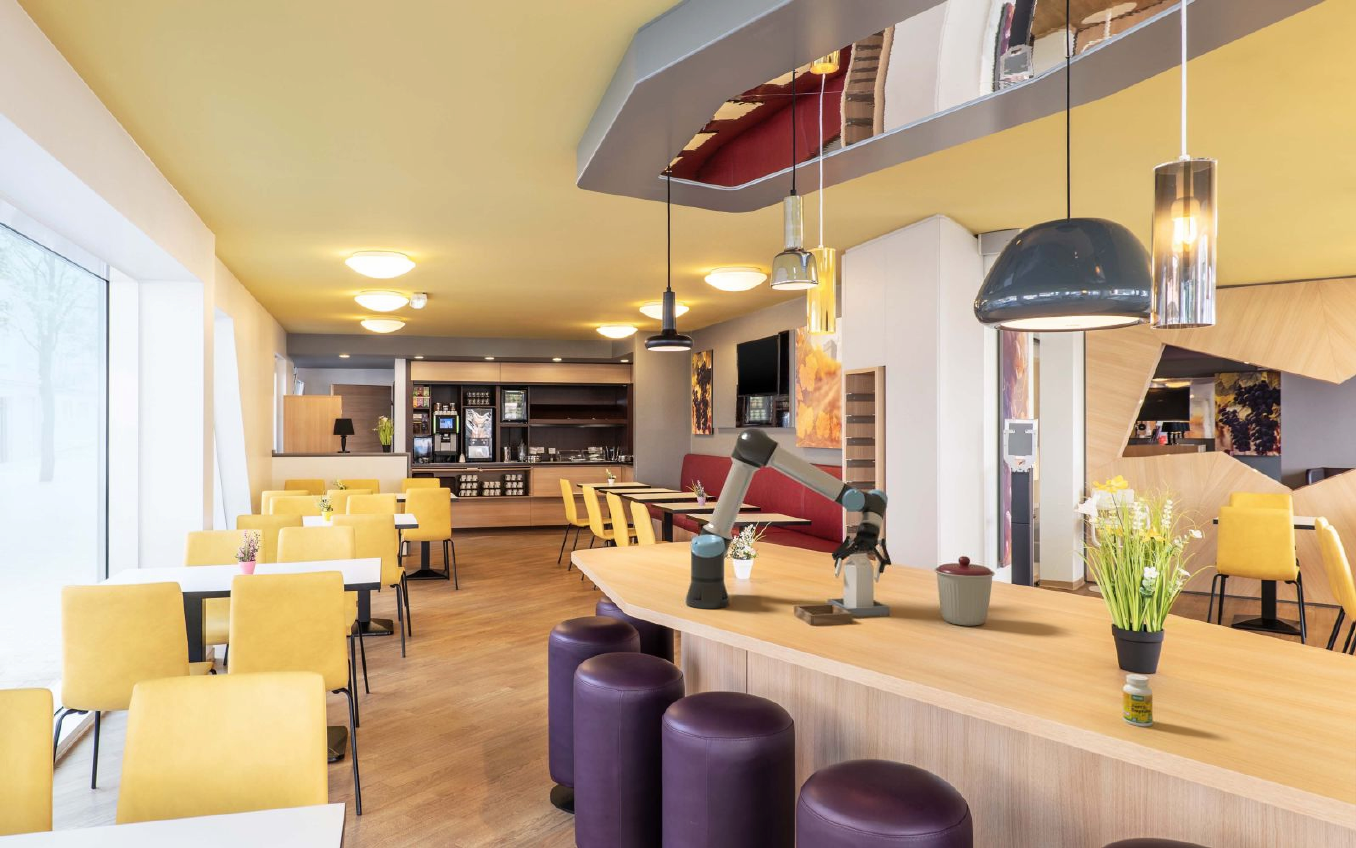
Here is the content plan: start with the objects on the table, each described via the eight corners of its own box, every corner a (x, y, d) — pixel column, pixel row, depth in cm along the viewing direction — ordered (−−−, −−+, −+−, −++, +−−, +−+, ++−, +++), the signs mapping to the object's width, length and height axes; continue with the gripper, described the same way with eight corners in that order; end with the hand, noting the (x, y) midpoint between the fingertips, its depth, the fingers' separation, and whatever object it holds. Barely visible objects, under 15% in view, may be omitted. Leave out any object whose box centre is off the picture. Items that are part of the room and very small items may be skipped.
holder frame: (794, 615, 262) (794, 606, 262) (833, 613, 266) (833, 604, 266) (811, 625, 249) (811, 615, 249) (852, 623, 252) (852, 613, 252)
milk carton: (843, 609, 269) (843, 552, 270) (860, 607, 272) (860, 551, 273) (856, 613, 263) (856, 556, 263) (873, 611, 266) (873, 554, 266)
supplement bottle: (1146, 718, 170) (1146, 673, 170) (1157, 728, 164) (1157, 681, 164) (1118, 717, 170) (1119, 672, 171) (1129, 726, 165) (1129, 680, 165)
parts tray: (828, 607, 273) (828, 599, 273) (867, 605, 277) (867, 597, 277) (847, 618, 259) (847, 608, 259) (889, 615, 262) (889, 606, 262)
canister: (985, 616, 262) (985, 552, 262) (1002, 630, 244) (1002, 561, 244) (928, 615, 263) (929, 551, 264) (941, 628, 245) (941, 560, 246)
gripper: (907, 537, 275) (895, 588, 262) (837, 532, 287) (823, 580, 274) (903, 523, 270) (891, 574, 257) (832, 519, 283) (817, 567, 270)
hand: (855, 578), depth 266 cm, fingers open, 13 cm apart
